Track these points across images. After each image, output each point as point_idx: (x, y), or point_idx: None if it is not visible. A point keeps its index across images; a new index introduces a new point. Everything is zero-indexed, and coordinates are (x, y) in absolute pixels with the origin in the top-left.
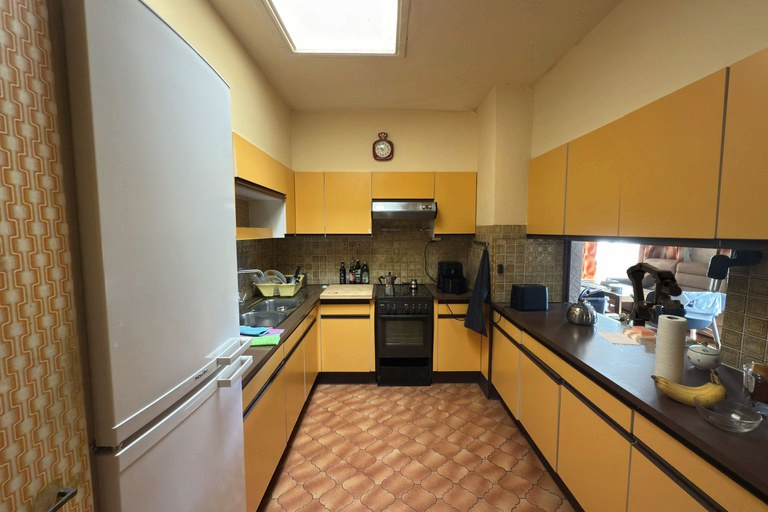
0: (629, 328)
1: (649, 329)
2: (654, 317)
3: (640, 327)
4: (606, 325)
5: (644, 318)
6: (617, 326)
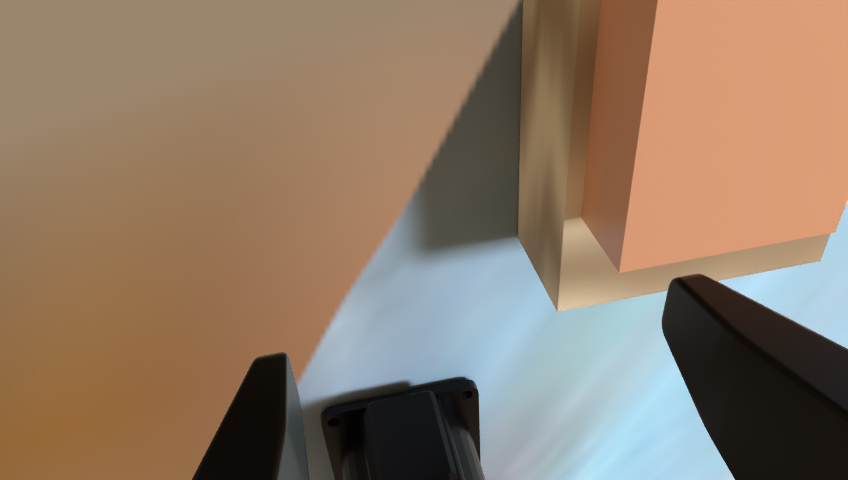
0: (739, 260)
1: (649, 77)
2: (779, 325)
3: (741, 178)
4: (692, 452)
5: None
6: (587, 463)
